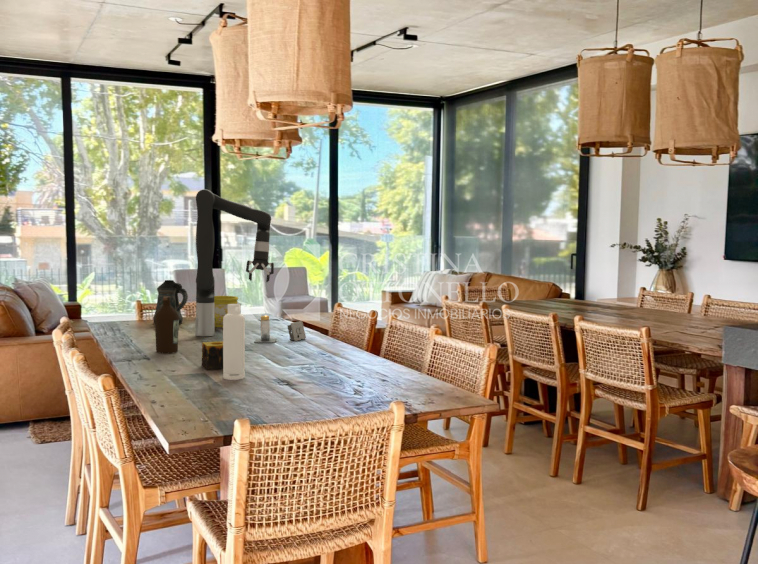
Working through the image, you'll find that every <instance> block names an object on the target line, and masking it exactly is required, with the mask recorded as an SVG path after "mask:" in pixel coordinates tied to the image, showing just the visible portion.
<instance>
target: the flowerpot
mask: <svg viewBox="0 0 758 564" xmlns="http://www.w3.org/2000/svg"><path fill="white" fill-rule="evenodd" d="M238 300H239V297H238V296H233V295H215V296H214V328H223V317H224V316H225V315H226V314H228V304H239V302H238Z"/></svg>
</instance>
